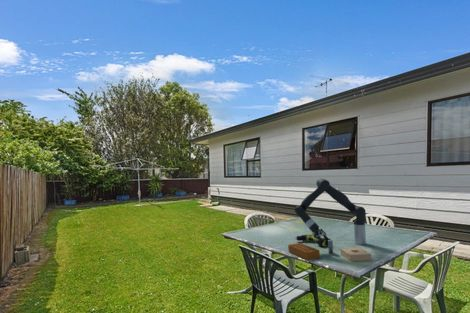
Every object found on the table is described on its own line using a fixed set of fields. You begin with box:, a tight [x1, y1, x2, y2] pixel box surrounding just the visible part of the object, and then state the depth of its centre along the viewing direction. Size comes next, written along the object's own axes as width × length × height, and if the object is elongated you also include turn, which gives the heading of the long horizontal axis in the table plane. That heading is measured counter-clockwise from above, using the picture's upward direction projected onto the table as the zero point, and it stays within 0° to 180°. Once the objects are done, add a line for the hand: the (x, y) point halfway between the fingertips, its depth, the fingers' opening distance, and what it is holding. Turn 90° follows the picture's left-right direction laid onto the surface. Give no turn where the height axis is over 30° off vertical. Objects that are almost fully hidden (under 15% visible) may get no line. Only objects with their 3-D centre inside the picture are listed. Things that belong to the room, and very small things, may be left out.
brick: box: [287, 242, 321, 261], centre depth 222 cm, size 25×12×6 cm, turn 23°
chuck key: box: [327, 239, 334, 255], centre depth 223 cm, size 4×4×10 cm
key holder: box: [340, 247, 372, 262], centre depth 210 cm, size 16×16×4 cm
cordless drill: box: [295, 233, 331, 247], centre depth 252 cm, size 7×25×25 cm
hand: (325, 241), depth 226 cm, fingers open, 8 cm apart
